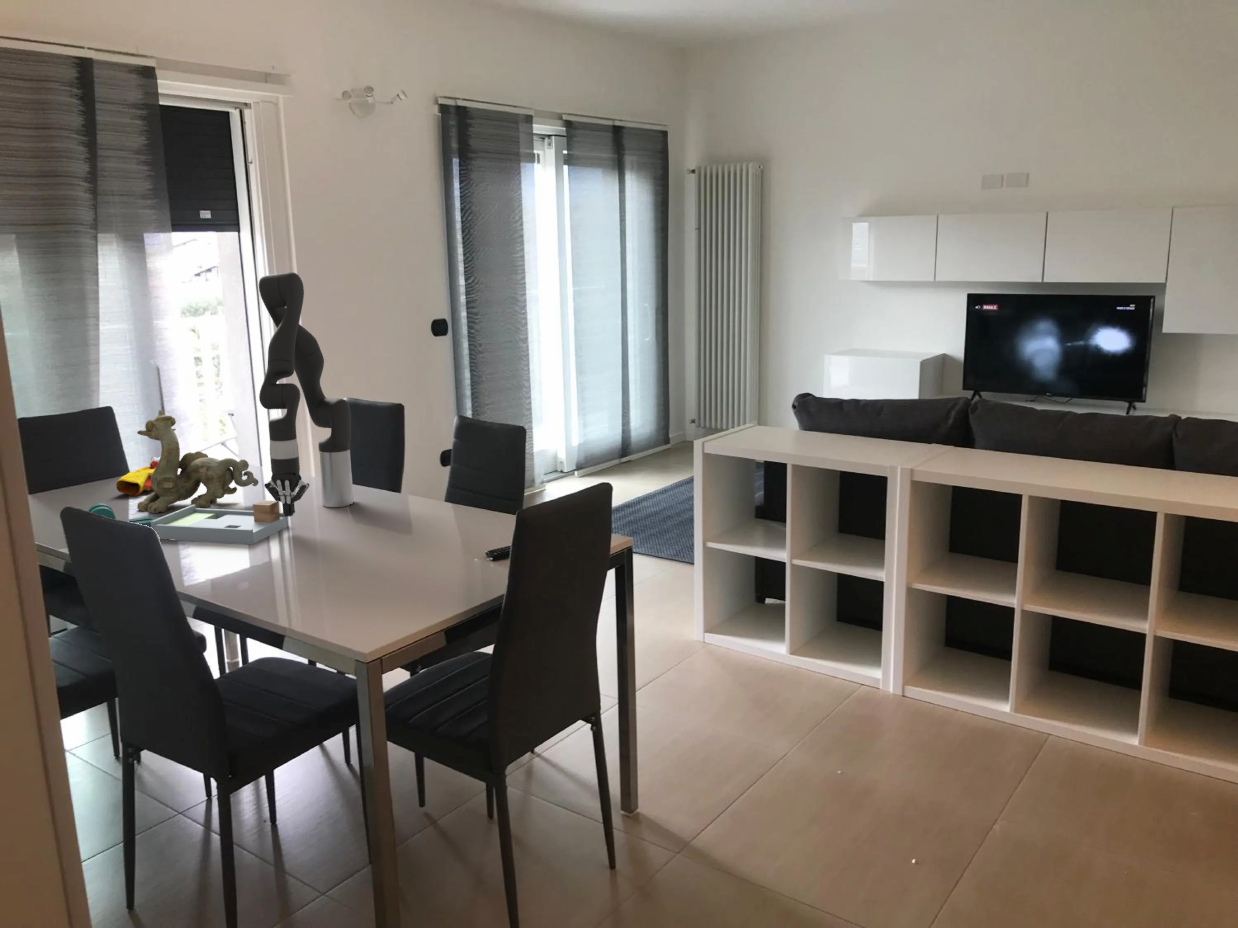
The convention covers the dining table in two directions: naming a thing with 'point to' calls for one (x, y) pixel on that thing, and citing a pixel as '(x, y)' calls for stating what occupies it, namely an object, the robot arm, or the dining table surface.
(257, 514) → the block
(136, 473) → the toy
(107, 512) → the bracket
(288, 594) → the dining table surface
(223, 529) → the tray
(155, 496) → the sculpture
